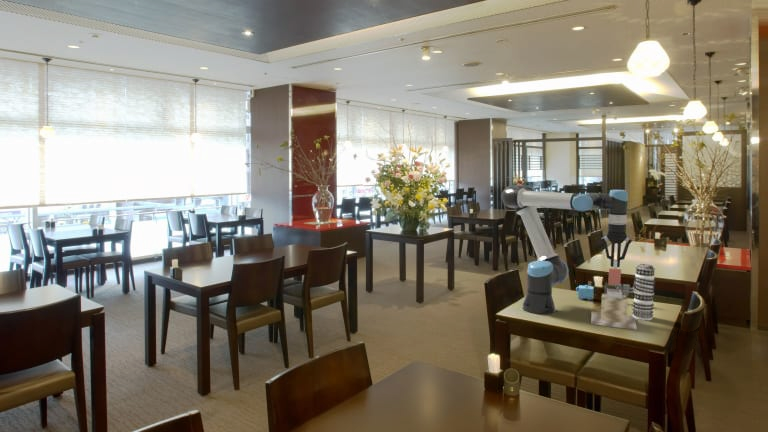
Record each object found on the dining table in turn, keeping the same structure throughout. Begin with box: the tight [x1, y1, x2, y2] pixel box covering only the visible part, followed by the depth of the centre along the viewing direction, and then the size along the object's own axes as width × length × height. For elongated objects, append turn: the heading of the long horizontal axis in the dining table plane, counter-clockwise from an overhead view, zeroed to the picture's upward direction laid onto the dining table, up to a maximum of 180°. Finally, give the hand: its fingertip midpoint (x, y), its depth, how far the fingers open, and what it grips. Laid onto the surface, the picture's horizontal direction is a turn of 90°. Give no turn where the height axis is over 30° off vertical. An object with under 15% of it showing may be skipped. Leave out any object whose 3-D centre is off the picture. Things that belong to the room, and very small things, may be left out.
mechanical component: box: [614, 283, 635, 299], centre depth 256 cm, size 3×10×10 cm, turn 78°
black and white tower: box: [631, 263, 657, 321], centre depth 232 cm, size 9×9×25 cm
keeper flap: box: [607, 267, 622, 288], centre depth 230 cm, size 5×8×1 cm
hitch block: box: [590, 282, 637, 330], centre depth 225 cm, size 18×16×16 cm
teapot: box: [575, 284, 595, 301], centre depth 265 cm, size 12×6×8 cm, turn 67°
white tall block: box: [607, 287, 622, 299], centre depth 225 cm, size 6×6×12 cm
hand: (614, 273), depth 231 cm, fingers closed
